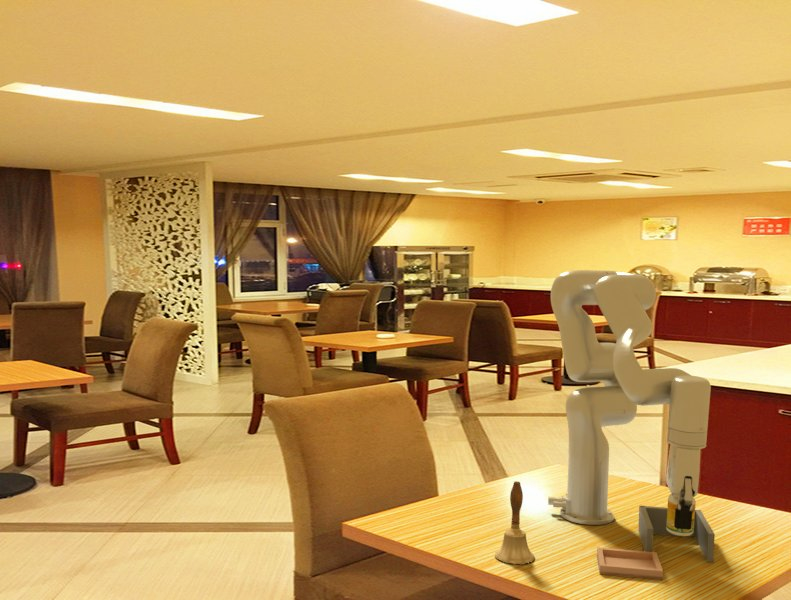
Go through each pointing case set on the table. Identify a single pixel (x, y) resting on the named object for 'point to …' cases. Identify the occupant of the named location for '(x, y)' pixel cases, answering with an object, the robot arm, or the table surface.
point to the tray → (629, 563)
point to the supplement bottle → (671, 516)
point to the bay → (655, 523)
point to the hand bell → (515, 534)
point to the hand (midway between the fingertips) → (680, 521)
